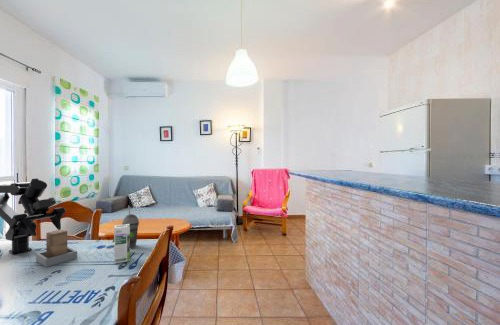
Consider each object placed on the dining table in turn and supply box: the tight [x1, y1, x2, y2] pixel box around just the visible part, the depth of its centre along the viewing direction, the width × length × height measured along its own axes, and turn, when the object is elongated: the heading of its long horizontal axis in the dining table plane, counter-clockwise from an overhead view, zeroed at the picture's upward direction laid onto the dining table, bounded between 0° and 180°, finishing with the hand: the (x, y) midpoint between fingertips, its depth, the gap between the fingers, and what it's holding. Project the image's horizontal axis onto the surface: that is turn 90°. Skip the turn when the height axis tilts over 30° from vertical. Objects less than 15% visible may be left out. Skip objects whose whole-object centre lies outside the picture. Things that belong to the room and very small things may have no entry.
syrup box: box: [113, 224, 131, 265], centre depth 101 cm, size 6×6×14 cm
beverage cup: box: [121, 205, 140, 249], centre depth 117 cm, size 7×7×20 cm
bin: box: [35, 246, 78, 268], centre depth 102 cm, size 11×11×3 cm
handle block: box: [45, 229, 68, 258], centre depth 101 cm, size 5×5×11 cm
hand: (48, 232), depth 103 cm, fingers open, 9 cm apart
